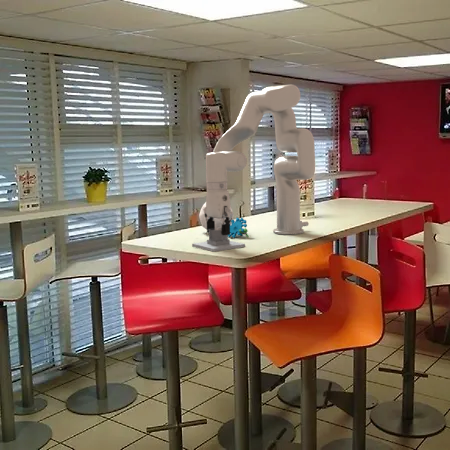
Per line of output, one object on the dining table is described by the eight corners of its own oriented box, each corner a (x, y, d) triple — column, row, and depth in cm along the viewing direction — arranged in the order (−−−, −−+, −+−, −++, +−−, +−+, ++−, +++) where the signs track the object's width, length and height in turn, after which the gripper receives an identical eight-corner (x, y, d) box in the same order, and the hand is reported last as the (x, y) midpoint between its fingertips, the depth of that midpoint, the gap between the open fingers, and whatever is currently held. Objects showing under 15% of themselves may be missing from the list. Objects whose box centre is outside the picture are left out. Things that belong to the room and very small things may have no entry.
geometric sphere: (223, 245, 250) (227, 219, 239) (191, 231, 253) (194, 206, 243) (237, 224, 259) (241, 199, 249) (206, 212, 263) (209, 186, 252)
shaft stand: (223, 241, 227) (222, 223, 226) (245, 246, 216) (244, 227, 215) (192, 246, 219) (191, 227, 218) (213, 251, 208) (212, 231, 207)
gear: (219, 232, 240) (233, 214, 243) (226, 241, 244) (240, 222, 246) (236, 239, 232) (251, 220, 234) (244, 248, 235) (258, 229, 238)
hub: (220, 237, 222) (220, 227, 221) (231, 239, 217) (231, 229, 216) (205, 239, 218) (205, 228, 218) (215, 242, 213) (215, 231, 212)
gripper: (239, 187, 210) (240, 234, 212) (212, 184, 224) (213, 229, 226) (222, 188, 205) (223, 237, 208) (195, 186, 219) (197, 231, 222)
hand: (218, 233), depth 217 cm, fingers open, 9 cm apart
